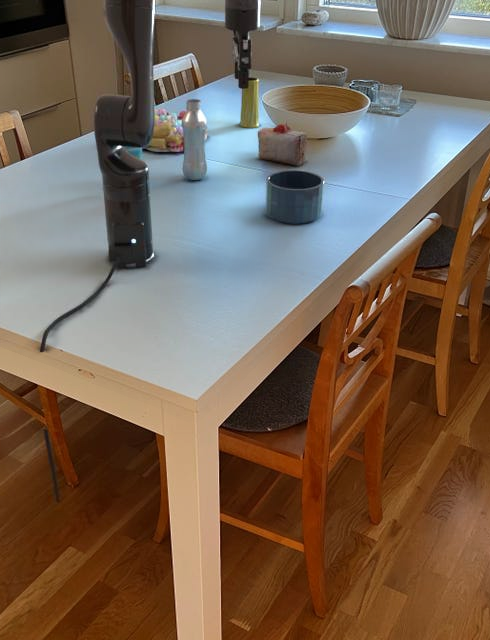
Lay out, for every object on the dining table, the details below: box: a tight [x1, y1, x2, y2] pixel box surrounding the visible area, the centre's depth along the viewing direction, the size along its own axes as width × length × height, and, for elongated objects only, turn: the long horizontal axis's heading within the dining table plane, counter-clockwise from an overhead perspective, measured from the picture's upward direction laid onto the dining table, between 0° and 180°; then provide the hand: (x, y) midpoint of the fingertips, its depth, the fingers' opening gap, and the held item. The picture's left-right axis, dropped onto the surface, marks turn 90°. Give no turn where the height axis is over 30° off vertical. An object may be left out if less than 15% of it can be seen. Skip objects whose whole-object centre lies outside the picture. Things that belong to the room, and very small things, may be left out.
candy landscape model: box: [142, 108, 208, 153], centre depth 220 cm, size 25×24×9 cm
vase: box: [239, 76, 260, 129], centre depth 233 cm, size 6×6×14 cm
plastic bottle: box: [181, 98, 208, 181], centre depth 191 cm, size 6×7×20 cm
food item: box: [257, 122, 308, 167], centre depth 206 cm, size 14×8×10 cm, turn 59°
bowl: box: [264, 169, 325, 225], centre depth 174 cm, size 13×13×8 cm
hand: (241, 83), depth 167 cm, fingers open, 8 cm apart
